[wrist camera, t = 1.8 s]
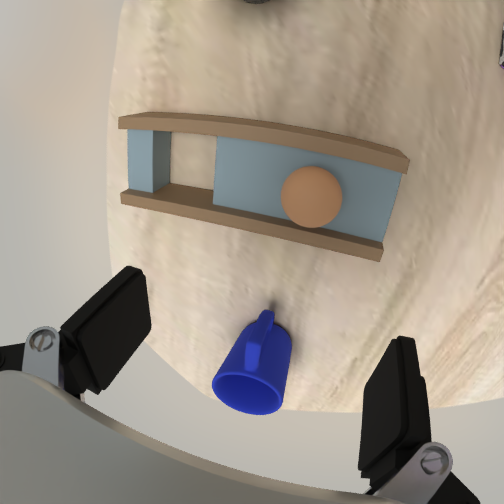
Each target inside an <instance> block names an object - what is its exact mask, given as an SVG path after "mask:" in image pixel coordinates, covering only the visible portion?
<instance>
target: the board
mask: <svg viewBox="0 0 504 504" xmlns="http://www.w3.org/2000/svg"><path fill="white" fill-rule="evenodd" d="M118 129H128V182H129V189H127V190H125V191H123V192H121V193H120V196H121V204H125V205H130V206H135V207H139V208H144V209H149V210H154V211H159V212H163V213H168V214H173V215H178V216H182V217H187V218H192V219H196V220H201V221H205V222H210V223H215V224H219V225H224V226H228V227H233V228H237V229H242V230H246V231H250V232H255V233H259V234H264V235H268V236H272V237H277V238H281V239H285V240H290V241H294V242H298V243H303V244H307V245H311V246H315V247H319V248H324V249H328V250H332V251H336V252H340V253H344V254H349V255H353V256H357V257H361V258H365V259H369V260H373V261H377V262H380V260H381V257H382V254H383V251H384V249H383V244H382V241H383V238H384V235H385V232H386V229H387V226H388V222H389V219H390V216H391V212H392V209H393V205H394V202H395V198H396V195H397V191H398V187H399V183H400V180H401V176H402V173H403V174H407V170H408V166H409V162H410V160H409V159H408V158H407V157H406V156H405V155H404V154H403V153H402V152H400V151H399V150H397V149H394V148H390V147H386V146H383V145H379V144H375V143H371V142H368V141H364V140H359V139H355V138H351V137H347V136H342V135H338V134H333V133H329V132H324V131H319V130H314V129H308V128H303V127H297V126H291V125H285V124H279V123H273V122H266V121H258V120H251V119H242V118H234V117H224V116H213V115H200V114H185V113H163V112H145V113H139V114H133V115H127V116H122V117H119V120H118ZM171 132H183V133H194V134H204V135H213V136H217V149H216V162H215V177H214V191H212V190H206V189H201V188H195V187H189V186H184V185H178V184H171V183H170V144H171ZM306 166H316V167H320V168H323V169H325V170H327V171H329V172H330V173H331V174H332V175H333V176H334V177H335V178H336V179H337V181H338V182H339V184H340V187H341V190H342V205H341V208H340V210H339V212H338V214H337V215H336V217H335V218H334V219H333V220H332V221H331V222H329V223H328V224H326V225H324V226H321V227H317V228H308V227H303V226H300V225H298V224H296V223H295V222H293V221H292V220H291V219H290V218H289V217H288V216H287V215H286V213H285V211H284V209H283V207H282V204H281V189H282V186H283V183H284V182H285V180H286V178H287V177H288V176H289V175H290V174H291V173H292V172H294V171H295V170H297V169H299V168H301V167H306Z"/></svg>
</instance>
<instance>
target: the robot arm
mask: <svg viewBox="0 0 504 504" xmlns="http://www.w3.org/2000/svg"><path fill="white" fill-rule="evenodd" d="M60 328H61V330H60V331H59V332H57V331H56V330H55V329H54V328H52V327H49V326H44V327H39V328H37V329H35V330H33V331H32V332H31V333H30V334H29V335H28V337H27V339H26V343H21V344H15V345H9V346H2V347H0V504H480V501H479V500H478V498H477V497H476V496H475V495H474V494H473V493H472V492H471V491H470V490H469V489H468V488H467V487H466V486H465V485H464V484H463V483H462V482H461V481H460V480H459V479H458V478H457V477H456V476H455V475H454V474H453V473H452V472H451V469H452V465H453V459H452V455H451V453H450V451H449V449H448V448H447V447H446V446H444V445H443V444H441V443H438V442H432V441H431V427H430V417H429V406H428V398H427V390H426V383H425V379H424V377H423V376H421V375H420V368H419V362H418V355H417V349H416V344H415V340H414V338H410V337H405V336H398V337H397V339H392V340H391V342H390V344H389V346H388V348H387V349H386V351H385V353H384V355H383V356H382V358H381V360H380V362H379V363H378V365H377V367H376V368H375V370H374V372H373V373H372V375H371V377H370V378H369V380H368V382H367V383H366V385H365V388H364V395H363V414H362V429H361V441H360V452H359V461H358V470H360V471H362V472H361V478H369V479H370V486H371V487H370V488H369V489H368V490H367V491H365V492H364V493H363V494H357V493H351V492H342V491H334V490H328V489H321V488H315V487H309V486H304V485H299V484H293V483H288V482H284V481H279V480H274V479H271V478H266V477H262V476H258V475H255V474H251V473H247V472H243V471H240V470H237V469H233V468H230V467H227V466H224V465H221V464H218V463H214V462H211V461H209V460H206V459H203V458H200V457H197V456H194V455H192V454H189V453H187V452H184V451H182V450H179V449H176V448H174V447H172V446H169V445H167V444H165V443H162V442H160V441H158V440H155V439H153V438H151V437H148V436H146V435H144V434H142V433H140V432H138V431H136V430H134V429H132V428H130V427H128V426H126V425H124V424H122V423H120V422H118V421H116V420H114V419H112V418H110V417H109V416H107V415H105V414H103V413H101V412H100V411H98V410H96V409H94V408H93V407H91V406H89V405H87V404H86V403H85V399H84V392H85V391H86V389H88V390H90V391H92V392H93V393H95V394H97V395H98V394H99V393H100V392H101V390H105V389H106V388H107V387H108V386H109V385H110V383H111V382H112V381H113V379H114V378H115V377H116V375H117V374H118V373H119V371H120V370H121V369H122V368H123V366H124V365H125V364H126V362H127V361H128V360H129V358H130V357H131V356H132V354H133V353H134V352H135V351H136V349H137V348H138V346H139V345H140V344H141V343H142V342H143V340H144V339H145V338H146V336H147V335H148V334H149V332H150V330H151V317H150V310H149V302H148V294H147V285H146V277H145V275H144V274H143V272H142V270H141V269H138V268H135V267H132V266H126V267H125V268H124V269H122V270H121V271H120V272H119V273H118V274H117V275H116V276H115V277H113V278H112V279H111V280H110V281H109V282H108V283H107V284H106V285H104V286H103V287H102V288H101V289H100V290H99V291H98V292H97V293H96V294H95V295H93V296H92V297H91V298H90V299H89V300H88V301H87V302H86V303H85V304H84V305H83V306H82V307H81V308H80V309H78V310H77V311H76V312H75V313H74V314H73V315H72V316H71V317H70V318H69V319H68V320H67V321H66V322H65V323H64V324H63V325H62V326H61V327H60Z"/></svg>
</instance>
